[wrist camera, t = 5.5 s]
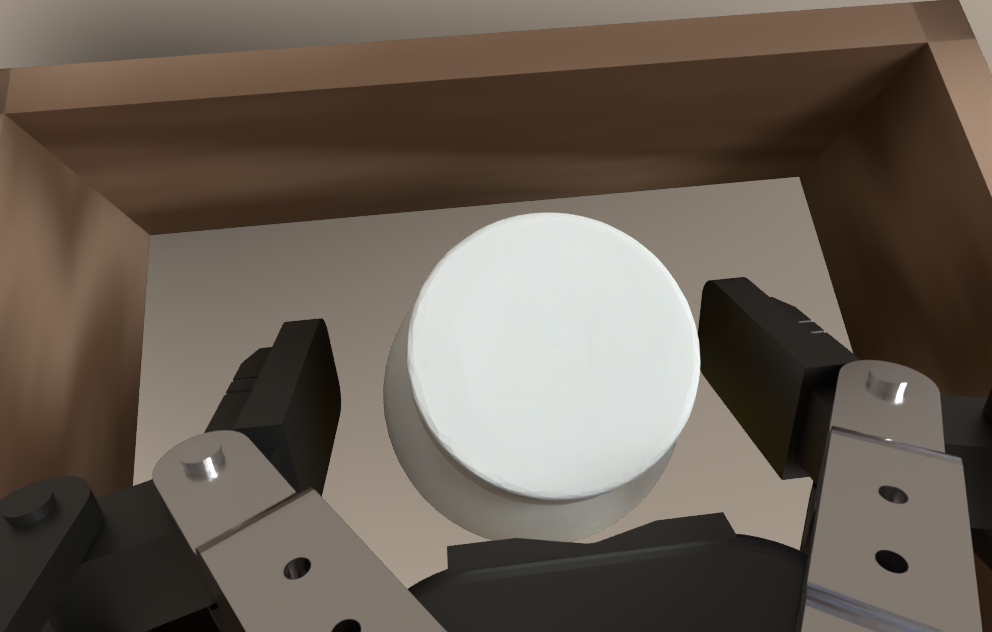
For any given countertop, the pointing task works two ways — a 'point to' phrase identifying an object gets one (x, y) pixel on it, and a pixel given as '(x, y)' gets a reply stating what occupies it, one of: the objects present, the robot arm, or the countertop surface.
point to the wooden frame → (488, 177)
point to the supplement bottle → (541, 378)
